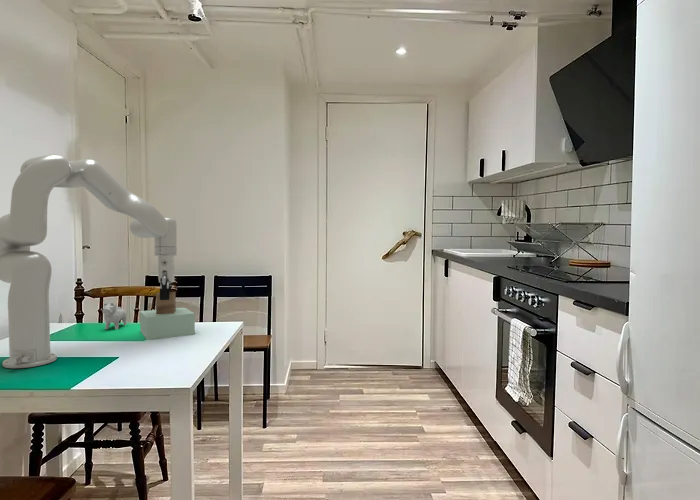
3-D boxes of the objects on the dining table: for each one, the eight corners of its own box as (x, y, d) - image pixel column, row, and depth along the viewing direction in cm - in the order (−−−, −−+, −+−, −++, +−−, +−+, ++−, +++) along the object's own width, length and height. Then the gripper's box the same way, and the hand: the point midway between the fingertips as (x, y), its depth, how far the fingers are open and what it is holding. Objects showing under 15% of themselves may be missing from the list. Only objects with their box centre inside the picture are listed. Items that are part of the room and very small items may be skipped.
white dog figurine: (98, 331, 171) (97, 303, 170) (115, 325, 184) (114, 298, 183) (112, 331, 171) (112, 303, 171) (128, 324, 184) (128, 298, 183)
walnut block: (174, 313, 166) (173, 293, 166) (156, 314, 164) (155, 294, 164) (175, 310, 172) (175, 292, 172) (158, 311, 170) (158, 292, 170)
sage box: (194, 335, 166) (194, 313, 166) (147, 340, 157) (146, 317, 157) (184, 327, 180) (184, 307, 179) (140, 332, 171) (140, 311, 171)
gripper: (175, 252, 160) (175, 300, 161) (177, 251, 177) (177, 295, 177) (151, 252, 158) (152, 301, 158) (156, 251, 174) (156, 295, 175)
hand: (165, 298), depth 168 cm, fingers open, 9 cm apart
